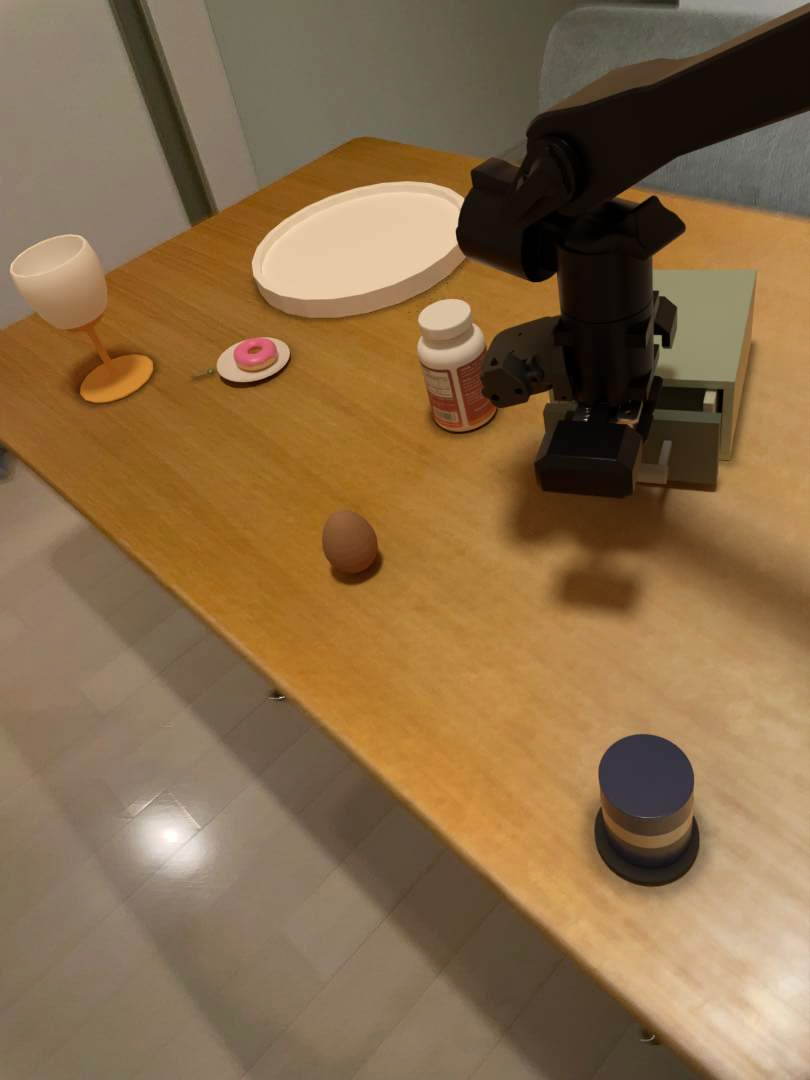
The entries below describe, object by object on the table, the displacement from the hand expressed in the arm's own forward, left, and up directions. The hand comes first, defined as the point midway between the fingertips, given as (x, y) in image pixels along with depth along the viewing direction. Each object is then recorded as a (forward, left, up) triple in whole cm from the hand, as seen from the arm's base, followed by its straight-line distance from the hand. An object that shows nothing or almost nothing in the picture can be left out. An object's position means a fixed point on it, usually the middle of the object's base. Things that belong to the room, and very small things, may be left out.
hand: (615, 477), depth 65 cm
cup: (+61, -14, -5) cm, 63 cm away
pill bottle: (+17, -12, -5) cm, 22 cm away
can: (-7, +25, -4) cm, 26 cm away
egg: (+20, +8, -5) cm, 22 cm away
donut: (+45, -17, -5) cm, 48 cm away
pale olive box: (0, -16, -5) cm, 17 cm away
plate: (+40, -41, -5) cm, 58 cm away
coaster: (-7, +25, -5) cm, 26 cm away
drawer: (0, -10, -4) cm, 11 cm away
